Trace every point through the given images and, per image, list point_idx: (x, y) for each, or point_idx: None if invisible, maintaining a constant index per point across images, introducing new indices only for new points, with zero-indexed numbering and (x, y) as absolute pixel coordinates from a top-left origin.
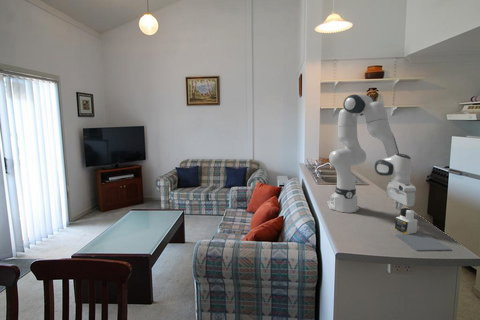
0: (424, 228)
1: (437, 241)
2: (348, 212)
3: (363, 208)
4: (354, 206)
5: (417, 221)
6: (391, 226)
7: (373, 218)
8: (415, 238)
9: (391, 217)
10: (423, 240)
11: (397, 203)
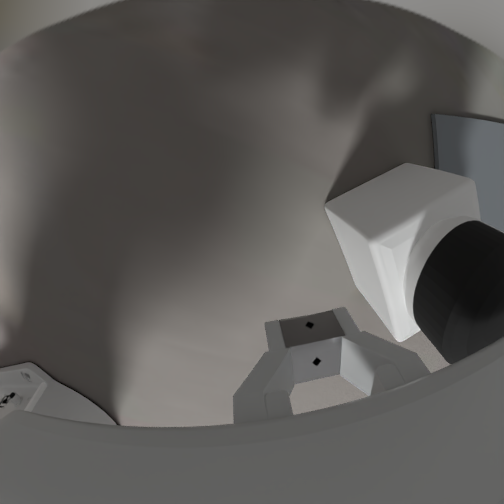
0: (315, 47)
1: (496, 129)
2: (116, 424)
3: (10, 336)
4: (73, 419)
5: (465, 178)
6: (298, 287)
7: (155, 350)
8: None
9: (91, 220)
10: (489, 194)
11: (278, 389)
